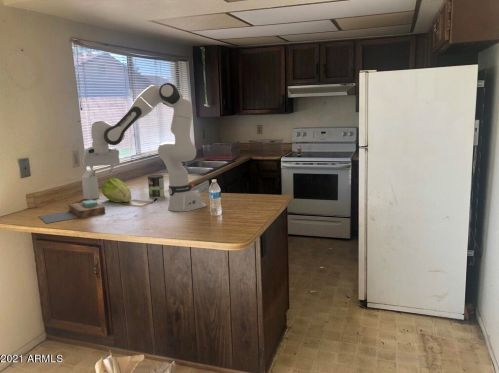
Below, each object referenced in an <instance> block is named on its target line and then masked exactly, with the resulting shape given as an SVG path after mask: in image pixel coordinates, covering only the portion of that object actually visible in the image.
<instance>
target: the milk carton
mask: <svg viewBox="0 0 499 373" xmlns="http://www.w3.org/2000/svg"><path fill="white" fill-rule="evenodd" d="M84 171H85V172H84V173H83V174H82V176H81V184H82V194H83V200H87V201H88V200H95V199H100V192H99V191H100V190H99V182H98V181H99V179H98V175H96V174H92V170H89V169H88V170H87V169H86V170H84Z"/></svg>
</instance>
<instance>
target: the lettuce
mask: <svg viewBox="0 0 499 373" xmlns="http://www.w3.org/2000/svg"><path fill="white" fill-rule="evenodd" d="M101 193H102V194H103V196H104V197H105V198H106V199H108V200H109V201H110V202H114V203H128V202H130V201H131V200H132V192H131V189H130V188H129V185H127V184H126V183H125V182H124V181H123V180H121V179H119V178H117V177H110V178H108V179H107V180H106V181H105V182H103V184H102V186H101Z"/></svg>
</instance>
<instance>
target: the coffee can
mask: <svg viewBox="0 0 499 373" xmlns="http://www.w3.org/2000/svg"><path fill="white" fill-rule="evenodd" d="M164 181H165V180H164V175H162V174H153V175H148V176H147V184H148V197H149V199H161V198H164V197H165V185H164V184H165V183H164Z"/></svg>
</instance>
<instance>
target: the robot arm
mask: <svg viewBox="0 0 499 373" xmlns="http://www.w3.org/2000/svg"><path fill="white" fill-rule="evenodd" d="M161 103H162V104H163V105H165V106H167V107H169V108H172V109H173V110H172V116H171V124H170V132H171V133H172V134H173V135H174V141H165V142H162V143H160V144H159V146H158V148H157V153H158V156H159V157H160V158H161V160H162V161H163V162H164V164H165V167H166V170H167V174H168V183H169V185H168V195H169V200H168V201H169V202H168V206H167V210H168V211H173V212H190V211H193V210H197V209H201V208H205V207H207V204H206V203H205V202H203V199H202V196H201V195H199V194H198V193H197V192H196V191H194V190H193V189H194V188H195V185H194V184H190V183H189V172H188V169H187V168H185V166H184V165H183V163H182V162H190V161H193V160H194V159H195V158H196V156H197V149H196V146H195V145H194V144H193V142H192V139H191V138H192V137H191V127H192V120H193V119H192V118H193V104H192V102H191V101H190V100H187V99H185V98H183V95H182V93H181V91H180V90H179V88H178V87H177V86H176V85H175V84H173V83H170V82H165V83H163V84H161V85H160V87H159V86H157V85H156V84H155V85H154V84H150V85H149V86H148V87H147V88H145V89H144V90H143V91H142V92H140V94H138V95H137V97H136V98H135V100H134V101H133V103H132V104H131V106H130V107H129V109H128V111H127V112H126V114H124V116H122V118H120V119H119V121H118V122H117V123H115V124H113V125H112V124H110V123H108V122H106V121H105V120H101V121H100V120H99V121H94V122H93V123H92V125H91V128H90V129H91V130H90V131H91V132H90V133H91V134H90V135H91V139H92V142H91V146H90V147H88V148H84V150H83V152H84V154H83V155H82V156H83V157H82V165H83V166H84V167H85V168H86V167H89V169H90V171H92V174H95V175H96V170H94V169H93V168H94V167H99V166H100V167H101V166H110V169H108V172H109V173H110V174H112V173H113V169H114V168H115V165H120V163H121V162H120V161H121V160H120V156H119V155H120V151H119V149H117V148H109V146H117V145H119V144H120V143H121V142H122V141H123V140H124V139H125V133H126V131H128V130H129V128H131V126H132V125H133V124H134V123H136V122H137V121H138V120H140V119H142V118H144V117H146V116H147V115H149V114H150V113H151V112H152V111H154V109H155V108H156V107H157V106H158V105H159V104H161Z"/></svg>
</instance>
